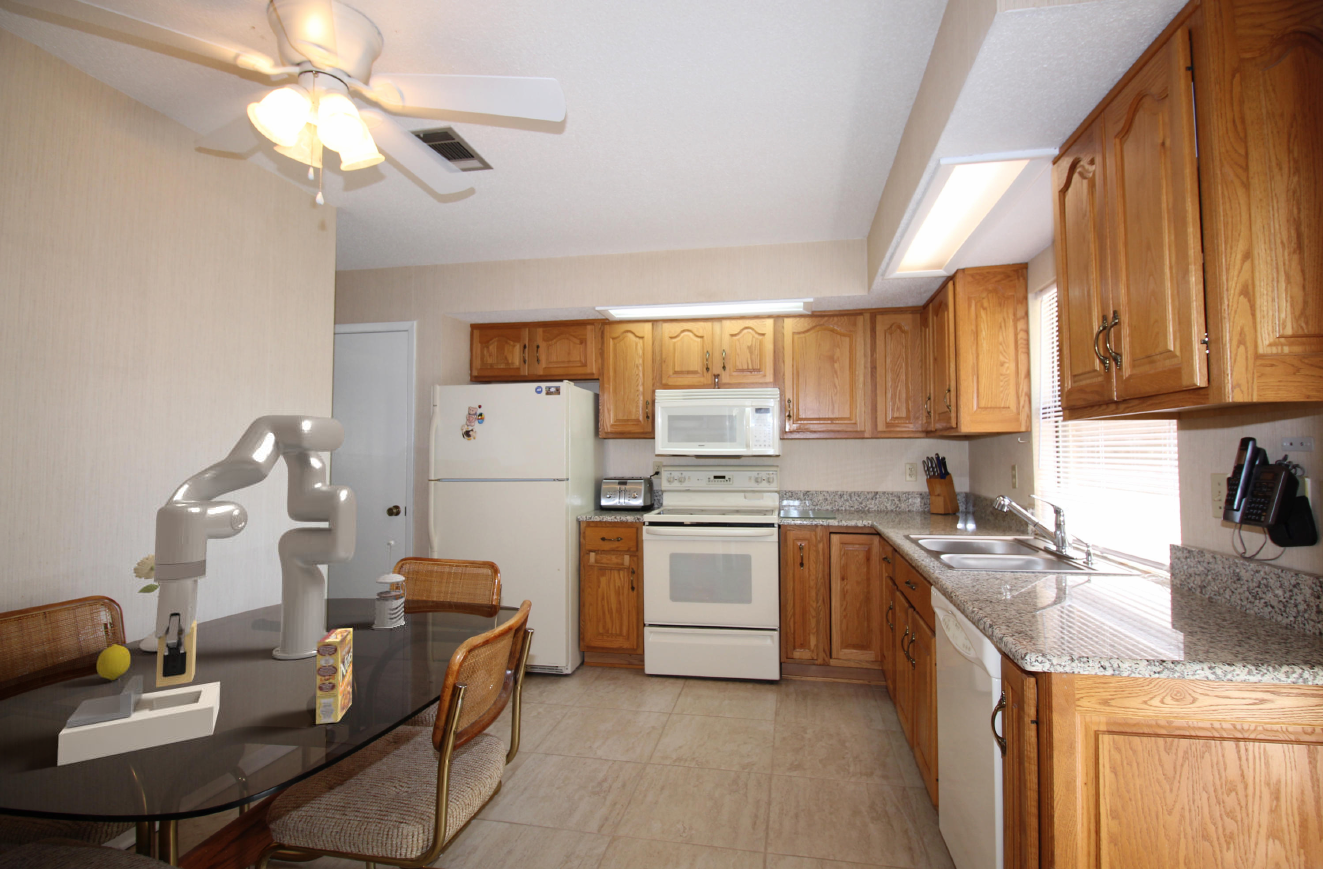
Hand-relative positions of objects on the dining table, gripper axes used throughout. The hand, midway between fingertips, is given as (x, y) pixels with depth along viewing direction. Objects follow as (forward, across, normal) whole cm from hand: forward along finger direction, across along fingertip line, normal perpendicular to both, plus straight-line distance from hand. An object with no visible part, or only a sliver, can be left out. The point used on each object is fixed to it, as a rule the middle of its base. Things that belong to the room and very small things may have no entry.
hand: (176, 669), depth 109 cm
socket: (+11, 0, -4) cm, 11 cm away
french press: (+10, -51, +44) cm, 68 cm away
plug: (+2, 0, 0) cm, 2 cm away
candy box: (+11, +9, +25) cm, 29 cm away
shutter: (+5, 0, -9) cm, 11 cm away
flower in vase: (+10, -59, -9) cm, 61 cm away
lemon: (+11, -37, -15) cm, 42 cm away
